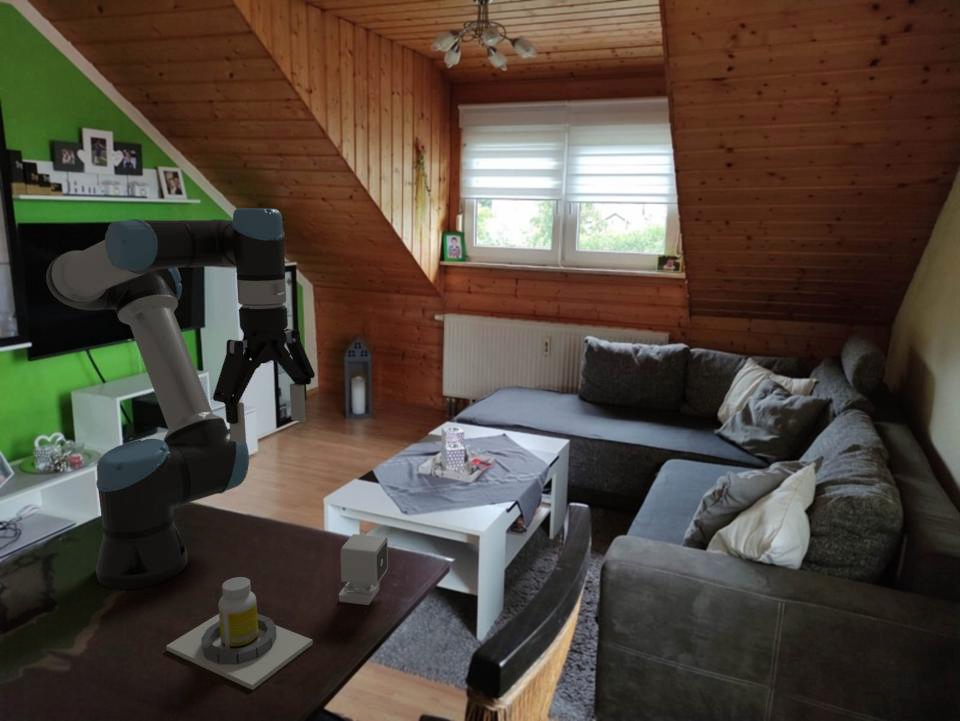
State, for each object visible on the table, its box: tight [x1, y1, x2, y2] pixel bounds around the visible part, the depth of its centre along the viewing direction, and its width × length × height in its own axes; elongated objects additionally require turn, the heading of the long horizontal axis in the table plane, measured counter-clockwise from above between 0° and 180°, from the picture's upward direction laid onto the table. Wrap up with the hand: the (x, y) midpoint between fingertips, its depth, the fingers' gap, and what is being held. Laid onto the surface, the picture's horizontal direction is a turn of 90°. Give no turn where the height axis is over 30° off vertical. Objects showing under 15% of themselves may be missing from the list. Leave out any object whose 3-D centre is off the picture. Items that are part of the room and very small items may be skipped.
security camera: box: [338, 533, 389, 606], centre depth 119 cm, size 6×7×10 cm
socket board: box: [165, 613, 314, 691], centre depth 105 cm, size 18×12×2 cm, turn 61°
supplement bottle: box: [217, 576, 259, 649], centre depth 104 cm, size 5×5×10 cm
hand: (269, 430), depth 117 cm, fingers open, 13 cm apart
